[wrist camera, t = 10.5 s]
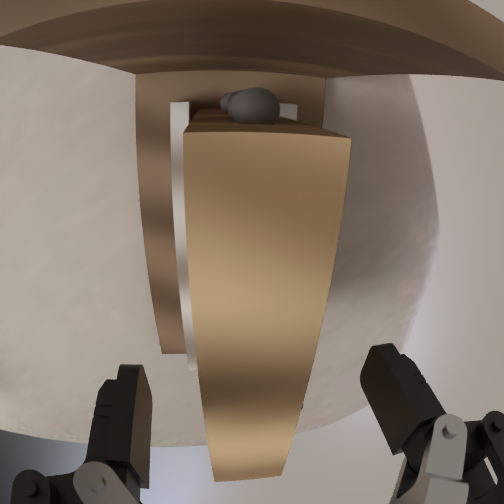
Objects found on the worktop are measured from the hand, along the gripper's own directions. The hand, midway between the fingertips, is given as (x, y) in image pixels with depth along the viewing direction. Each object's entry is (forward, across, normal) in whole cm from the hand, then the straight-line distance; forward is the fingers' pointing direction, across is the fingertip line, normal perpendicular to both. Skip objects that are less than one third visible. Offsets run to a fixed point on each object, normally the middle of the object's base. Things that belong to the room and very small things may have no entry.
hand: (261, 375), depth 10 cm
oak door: (+13, 0, 0) cm, 13 cm away
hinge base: (+14, 0, 0) cm, 14 cm away
